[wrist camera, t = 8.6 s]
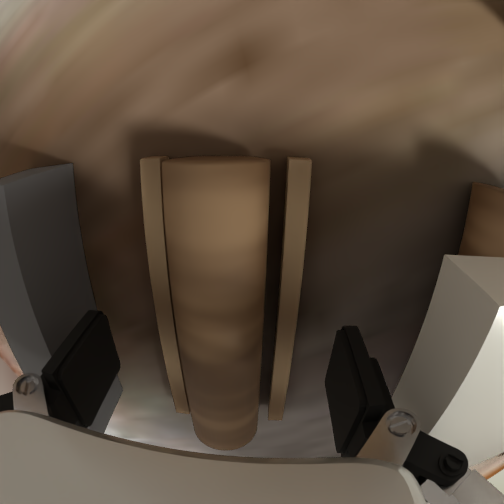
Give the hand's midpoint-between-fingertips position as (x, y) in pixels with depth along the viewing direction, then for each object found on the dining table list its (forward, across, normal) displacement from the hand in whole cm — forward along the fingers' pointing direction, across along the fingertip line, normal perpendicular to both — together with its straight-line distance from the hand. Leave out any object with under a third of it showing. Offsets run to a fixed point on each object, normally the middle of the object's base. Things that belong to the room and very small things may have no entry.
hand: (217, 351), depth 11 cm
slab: (-1, -14, 0) cm, 14 cm away
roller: (+3, 0, 0) cm, 3 cm away
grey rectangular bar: (+3, +8, 0) cm, 9 cm away
